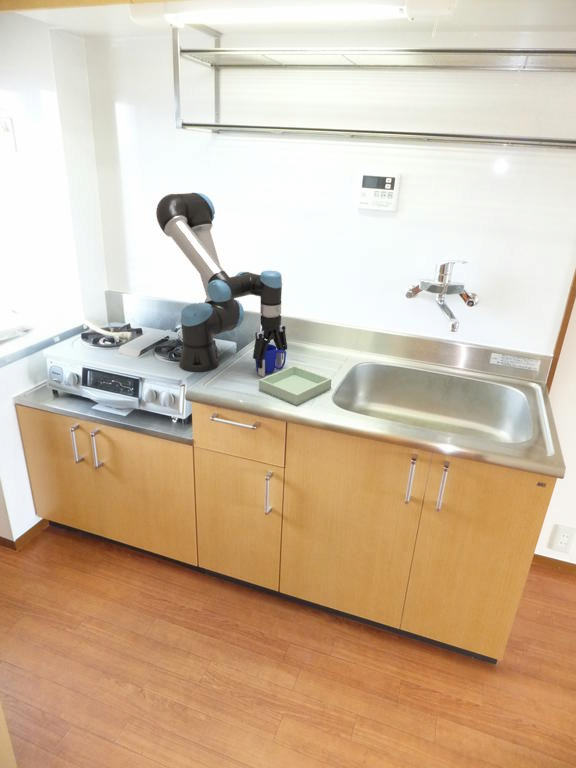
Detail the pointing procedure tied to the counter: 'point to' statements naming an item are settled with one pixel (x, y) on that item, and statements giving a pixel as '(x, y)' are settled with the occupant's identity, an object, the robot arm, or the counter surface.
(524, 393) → the counter surface
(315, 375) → the tray
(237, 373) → the counter surface
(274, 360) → the mug
